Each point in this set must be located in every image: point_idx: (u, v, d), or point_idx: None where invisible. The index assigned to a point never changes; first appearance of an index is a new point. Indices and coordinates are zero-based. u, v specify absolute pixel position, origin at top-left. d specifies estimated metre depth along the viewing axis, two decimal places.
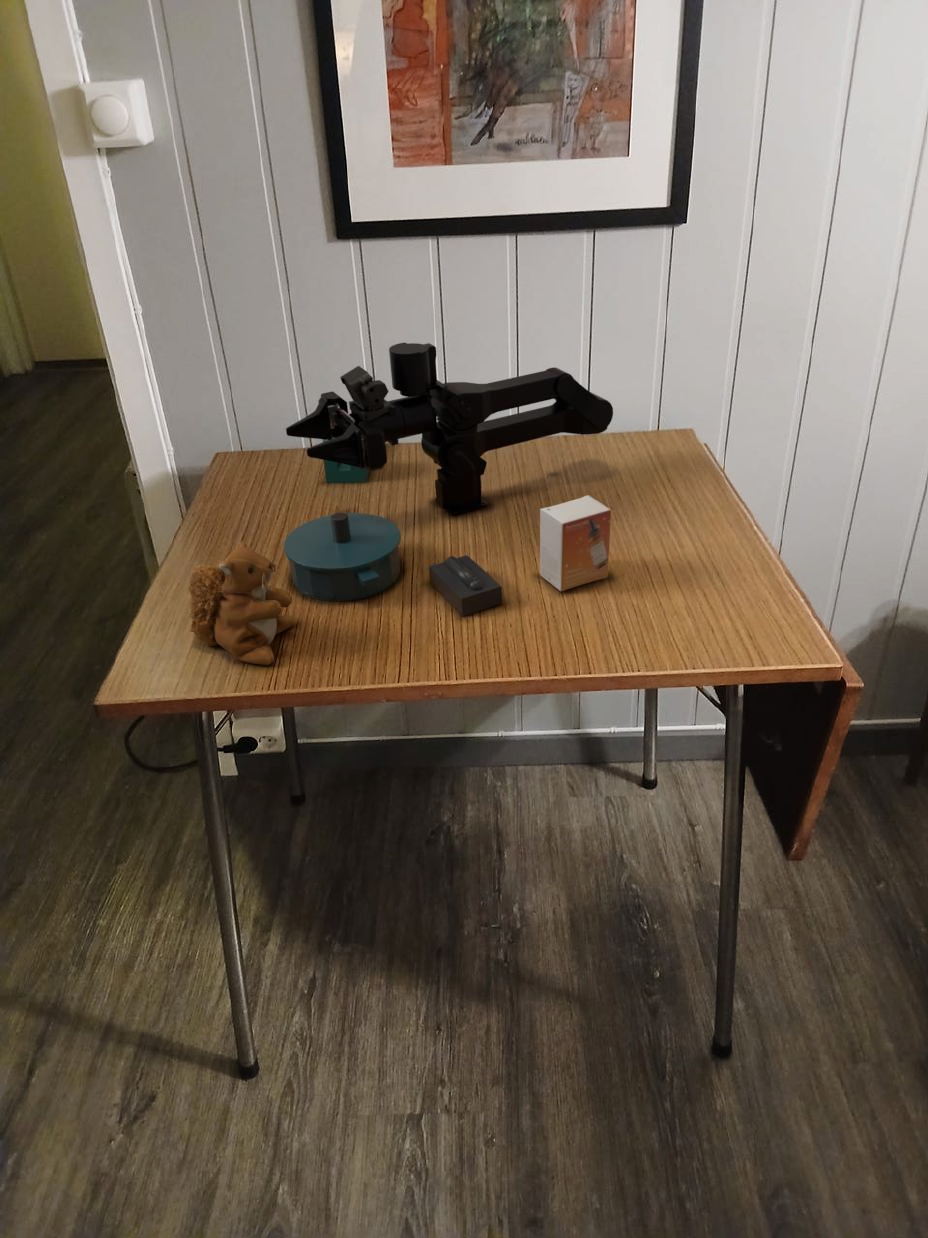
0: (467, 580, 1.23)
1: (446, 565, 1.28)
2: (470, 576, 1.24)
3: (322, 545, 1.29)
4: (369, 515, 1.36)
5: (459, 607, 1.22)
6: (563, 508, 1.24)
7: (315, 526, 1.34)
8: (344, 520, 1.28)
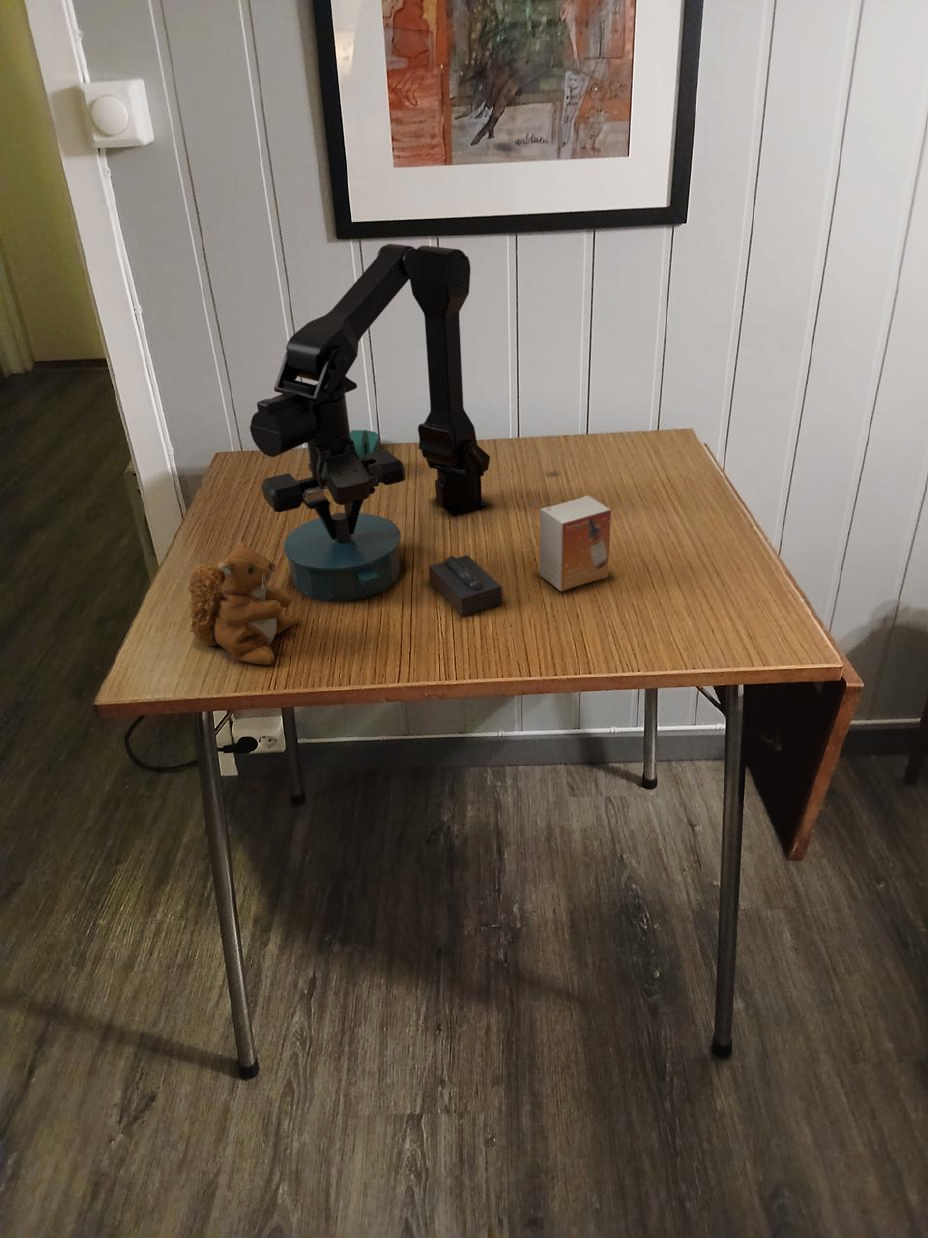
0: (467, 580, 1.23)
1: (446, 565, 1.28)
2: (470, 576, 1.24)
3: (322, 545, 1.29)
4: (369, 515, 1.36)
5: (459, 607, 1.22)
6: (563, 508, 1.24)
7: (315, 526, 1.34)
8: (344, 520, 1.28)
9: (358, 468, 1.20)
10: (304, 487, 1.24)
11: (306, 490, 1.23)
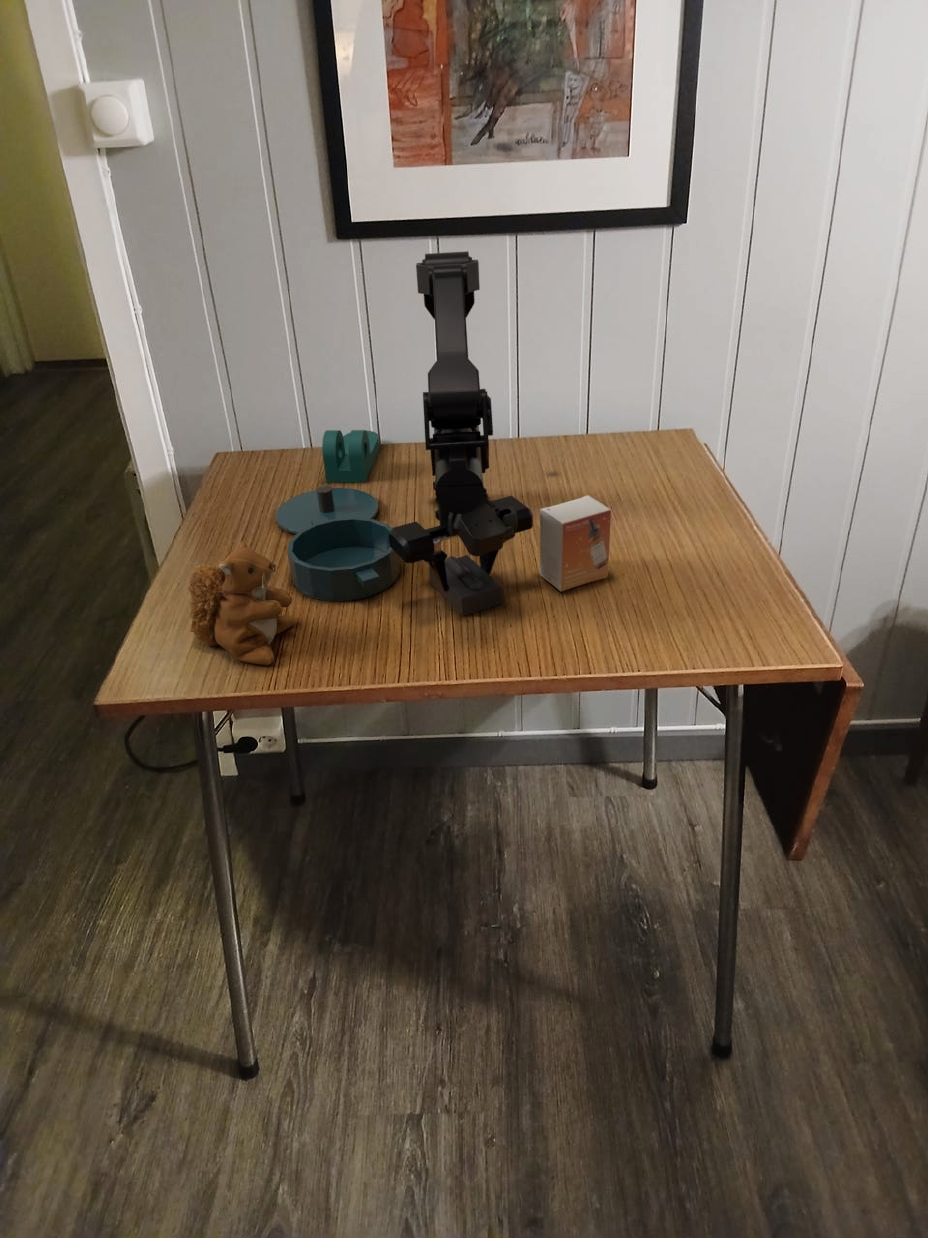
0: (467, 580, 1.23)
1: (446, 565, 1.28)
2: (470, 576, 1.24)
3: (309, 514, 1.47)
4: (351, 489, 1.55)
5: (459, 607, 1.22)
6: (563, 508, 1.24)
7: (303, 499, 1.52)
8: (328, 492, 1.46)
9: (493, 518, 1.16)
10: None
11: None
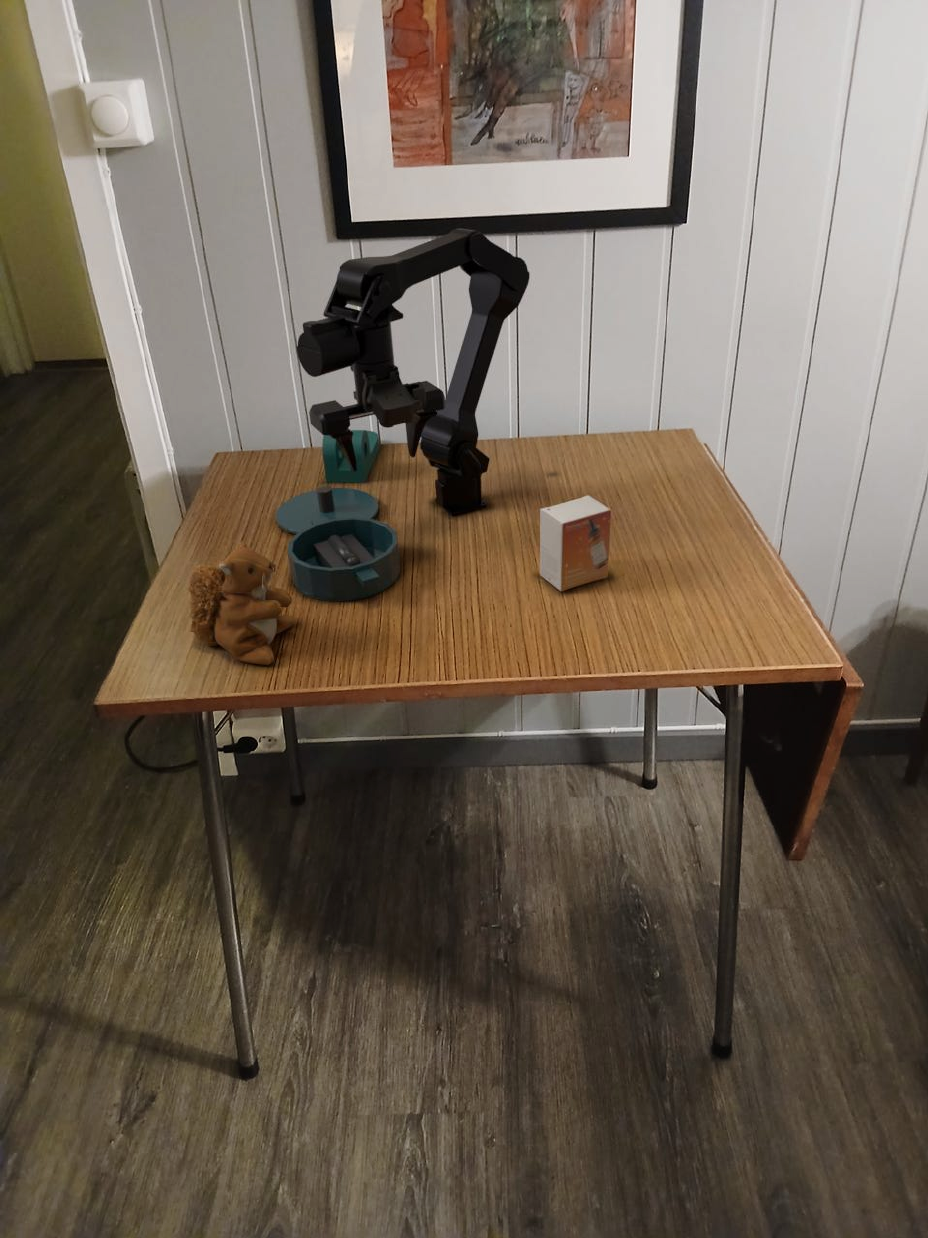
0: (345, 557, 1.29)
1: (329, 543, 1.34)
2: (348, 553, 1.30)
3: (309, 514, 1.47)
4: (351, 489, 1.55)
5: None
6: (563, 508, 1.24)
7: (303, 499, 1.52)
8: (328, 492, 1.46)
9: (403, 392, 1.25)
10: None
11: None
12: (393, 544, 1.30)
